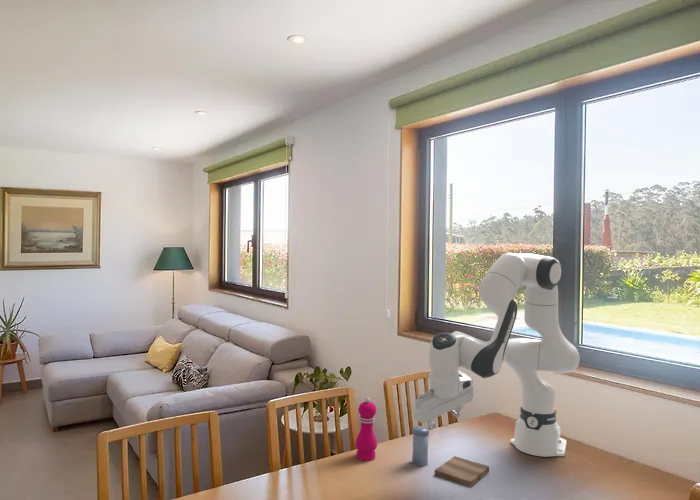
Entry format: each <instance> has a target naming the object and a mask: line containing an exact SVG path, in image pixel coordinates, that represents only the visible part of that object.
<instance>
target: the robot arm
mask: <svg viewBox="0 0 700 500" xmlns="http://www.w3.org/2000/svg"><path fill="white" fill-rule="evenodd" d="M562 275H563V268H562V265H561V263H560V262H559V260H558V259H557V258H555V257H552V256H549V255H540V254H535V253H516V252H505V253H502V254H501V255H500V257H498V258H497V259H496V260H495V261H494V262H493V264H492V265H491V266H490V267H489V269H488V270H487V272H486V273H485V275H484V276H483V278H482V280H481V282H480V284H479V286H478V293H479V297H480V300H481V301H482V302H483V304H484V305H485V306H486V307H487V308H488V309H489V310H490V311H492V312H493V313H494V315H496V316H497V321H496V324H495V327H494V330H493V332H492V335H491V338H490V340H488V341H487V340H486V341H484V340H482V339H479V338H476V337H474V336H472V335H470V334H467V333H464V332H462V331H458V330H455V331H452V332H445V331H444V332H439V333H437V334H435V335H434V336H433V337H432V339H431V340H430V345H429V351H428V366H429V373H428V380H429V381H428V383H429V384H428V385H429V386H428V387H429V388H428V389H429V390H428V391H426V392H423V393H420V394H419V395H418V397H417V398H416V399H415V402H414V403H415V404H414V410H413V411H414V412H413V415H414V418H415V419H416V420H417V421H418V422H419V423H421V424H425V423H427V426H428V427H427V428H429V430H433V429H435V428H436V423H435V422H434V421H433V420H434V419H436V418H438V417H440V416H443V415H444V414H447V413H449V412H451V411H452V416H453V417H454V418H455V419H456V418H460V416H461V412H462V410H463V408H464V405H466V404H468V403H469V404H470V403H471V402H472V401H473V399H474V385H473V384H474V381H473V379H472V378H471V377H470V376H469V375H467V374H466V373H464V372H463V371H462V370H460V369H459V368H460V367H461V368H463V369H465V370H467V371H470V372H472V373H474V374H475V375H477V376H479V377H481V378H482V379H486V378H491V377H493V376H495V375H497V374H498V373H499V372H500V370H501V368H502V364H503V361H504V362H505V364H506V365H507V366H509V367H510V368H511V369H512V371H513V372H514V373H515V375H516V376H517V378H518V380H519V383H520V389H521V406H520V408H519V409H520V410H519V417H520V418H519V419H517V420H516V421H515V428H514V437H513V438H511V439H509V440H510V441H509V443H511V444H512V445H513V446H515V448H516V449H517V450H518V451H520V452H522V453H525V454H527V455H532V456H536V457H544V458H545V457H565V456H566V455H565V454H566V450H567V440H566V439H565V438H563V437H561V427H560V426H559V424H558V422H557V412H558V411H557V408H556V390H555V388H554V386H552V384H550V383H549V382H548V381H546V380H544V379H542V378H541V377H540V376H539V373H538V372H544V373H545V372H547V373H555V374H569V373H574V372H575V371H576V370H577V368H579V365H580V360H581V359H580V357H581V355H580V353H579V350H578V348H577V347H576V346H575V345H574V344H573V343H571V342H570V341H569V340H568V339H567V337H565V335H564V334H563V332H562V330H561V327H560V323H559V288H558V284H560V281H561V279H562ZM521 286H522V287H525V293H524V294H525V295H524V317H523V318H524V322H525V325H526V326H527V327H528V328H529V329H530V330H532V331H534V332H536V333H538V334H539V335H540V337H541V339H536V338H528V337H527V338H525V337H517V338H511V334H512V332H513V328H514V326H515V323H516V319H517V316H518V315H517V314H518V304H517V302H516V301H515V297H516V294H517V292H518V291H519V288H520V287H521Z"/></svg>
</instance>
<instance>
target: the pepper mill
mask: <svg viewBox="0 0 700 500" xmlns="http://www.w3.org/2000/svg"><path fill="white" fill-rule="evenodd" d="M364 399H365V400H364V401H363V402H361V403H360V404H359V406H358V409H357V410H358V414H359V415H360V416H359V422H360V430H359V432H358V435H357V437H356V440H355V448H356V449H357V450H356V458H357V459H358V460H360V461H364V462H369V461H373V460H374V459H376V451H375V450H376V449H377V446H378V441H377V437H376V435H375V432H374V423H375V415H376V414H377V406H376V405H375V404H374V402H372V401H371V398H370V397H368V396H367V397H366V398H364Z"/></svg>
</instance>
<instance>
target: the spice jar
mask: <svg viewBox="0 0 700 500" xmlns="http://www.w3.org/2000/svg"><path fill="white" fill-rule="evenodd" d="M429 434H430V428H429V427H427V426H424V425H415V426H413V427H412V456H411V457H412V458H411V463H412V465H414V466H418V467H426V466H428V461H429V460H428V459H429V458H428V457H429Z"/></svg>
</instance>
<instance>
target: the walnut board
mask: <svg viewBox="0 0 700 500" xmlns="http://www.w3.org/2000/svg"><path fill="white" fill-rule="evenodd" d="M488 473H490V466H489V465H486V464H483V463H479V462H476V461H473V460H469V459H466V458H462V457H458V456H455V455H454V456H453V457H451V458H450V459H448V460H447V461H445V462H444V463H442V464H441V465H439V466H438V467H437V468H435V470H434V476H436V477H439V478H442V479H445V480H448V481H451V482H455V483H456V484H460V485H463V486H466V487H470V488H472V487H473V486H474V485H475V484H476V483H477V482H478V481H480V480H481V479H482V478H483V477H484V476H486V474H488Z"/></svg>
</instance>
